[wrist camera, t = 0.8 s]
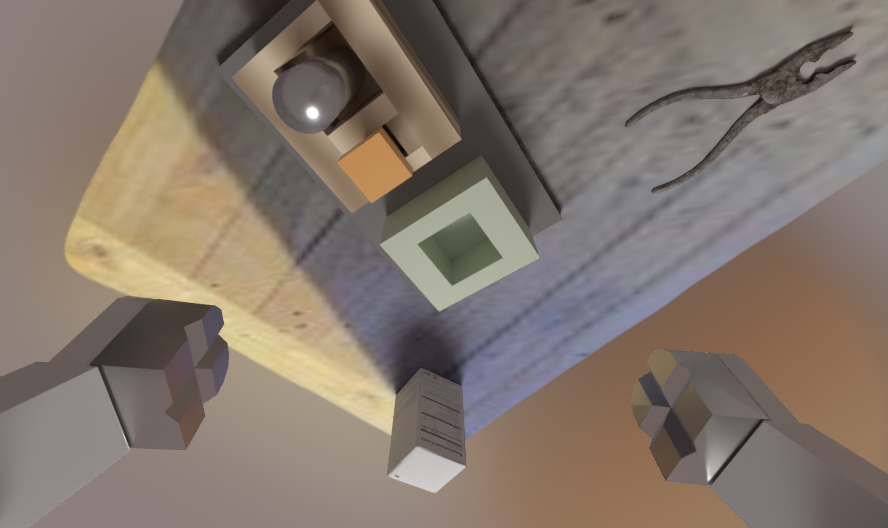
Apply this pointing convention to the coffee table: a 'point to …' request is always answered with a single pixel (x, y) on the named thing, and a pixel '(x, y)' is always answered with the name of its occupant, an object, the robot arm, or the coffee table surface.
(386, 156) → the key
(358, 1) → the socket block
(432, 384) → the supplement box
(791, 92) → the pliers
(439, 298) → the frame
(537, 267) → the coffee table surface
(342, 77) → the grey cylindrical peg
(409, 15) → the mat
